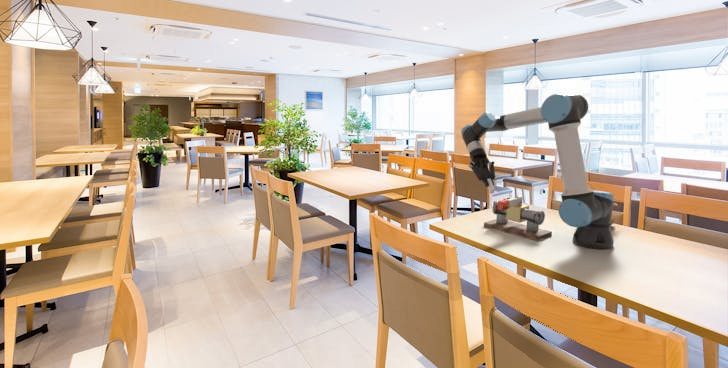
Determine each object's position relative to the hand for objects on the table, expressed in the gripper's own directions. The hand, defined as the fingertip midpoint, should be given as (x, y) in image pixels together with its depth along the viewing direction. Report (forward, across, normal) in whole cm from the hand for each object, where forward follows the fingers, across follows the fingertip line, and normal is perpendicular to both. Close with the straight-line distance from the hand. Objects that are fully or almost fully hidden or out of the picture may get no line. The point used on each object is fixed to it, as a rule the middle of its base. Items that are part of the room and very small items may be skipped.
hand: (492, 191), depth 180 cm
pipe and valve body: (+13, -13, -12) cm, 22 cm away
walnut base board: (+14, -13, -14) cm, 24 cm away
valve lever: (+7, -8, -3) cm, 11 cm away
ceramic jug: (+14, -57, -14) cm, 61 cm away
